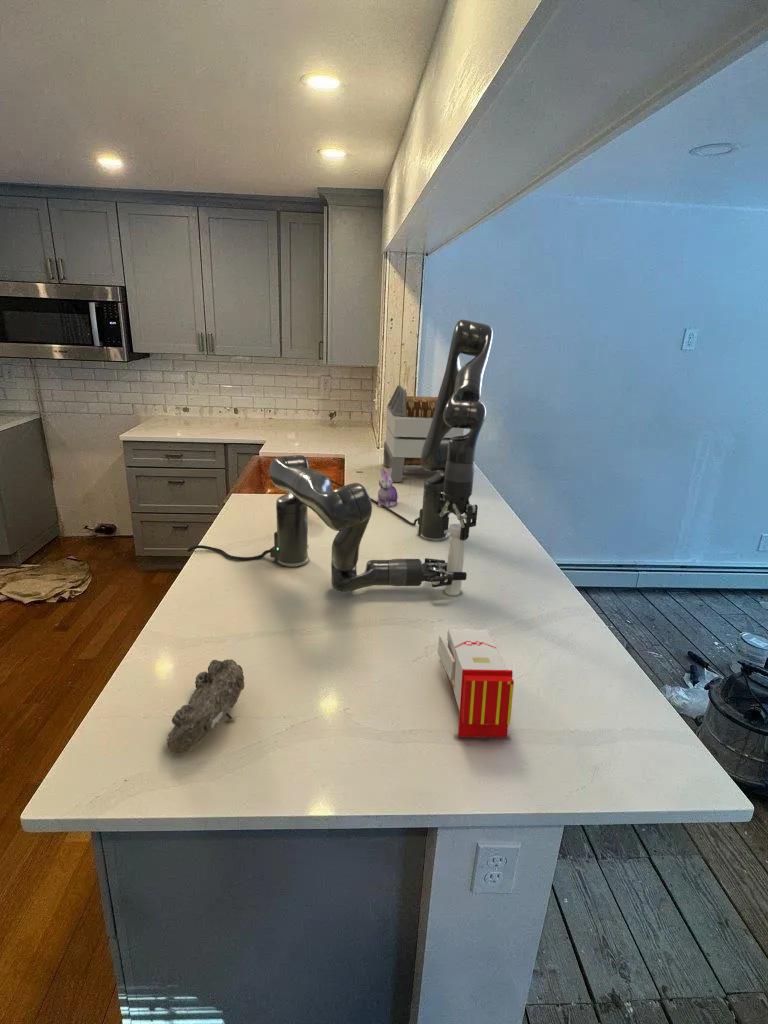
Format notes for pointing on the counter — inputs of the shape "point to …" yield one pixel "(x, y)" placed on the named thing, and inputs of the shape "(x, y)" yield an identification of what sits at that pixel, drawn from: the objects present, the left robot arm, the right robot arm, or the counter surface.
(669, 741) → the counter surface
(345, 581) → the left robot arm
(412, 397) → the grey wooden box
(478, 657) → the toy
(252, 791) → the counter surface
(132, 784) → the counter surface
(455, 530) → the lid
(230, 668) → the fossil
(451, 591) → the white cylindrical bottle
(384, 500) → the figurine
